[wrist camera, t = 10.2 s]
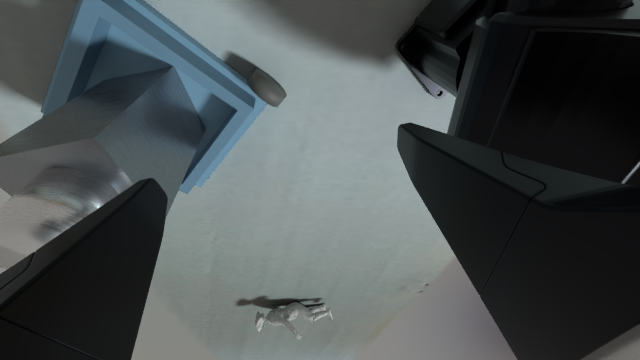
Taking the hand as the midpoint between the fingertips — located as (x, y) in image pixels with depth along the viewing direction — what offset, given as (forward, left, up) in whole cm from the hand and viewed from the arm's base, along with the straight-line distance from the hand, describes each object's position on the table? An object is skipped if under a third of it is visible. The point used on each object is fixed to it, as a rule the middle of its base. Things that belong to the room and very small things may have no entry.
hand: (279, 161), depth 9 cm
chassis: (+5, +8, -13) cm, 16 cm away
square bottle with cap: (+5, +8, -12) cm, 15 cm away
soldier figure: (-25, +29, -13) cm, 41 cm away
